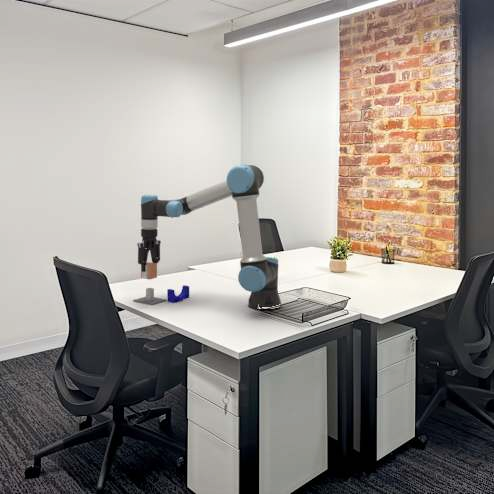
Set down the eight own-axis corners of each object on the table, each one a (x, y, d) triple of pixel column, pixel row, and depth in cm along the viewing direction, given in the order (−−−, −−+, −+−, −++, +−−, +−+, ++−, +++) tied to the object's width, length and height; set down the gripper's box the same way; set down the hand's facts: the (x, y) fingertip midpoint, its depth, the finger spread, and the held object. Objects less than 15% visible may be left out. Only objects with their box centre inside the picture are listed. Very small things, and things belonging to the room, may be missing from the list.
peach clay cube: (156, 277, 248) (157, 263, 246) (149, 279, 243) (149, 265, 242) (148, 276, 250) (148, 262, 249) (140, 277, 246) (141, 263, 245)
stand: (166, 300, 249) (166, 288, 248) (152, 305, 241) (152, 292, 240) (147, 297, 255) (147, 285, 255) (133, 301, 247) (132, 288, 246)
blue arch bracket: (174, 303, 245) (174, 290, 245) (167, 301, 248) (167, 289, 247) (191, 298, 255) (191, 286, 254) (184, 297, 258) (184, 285, 257)
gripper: (156, 226, 253) (156, 273, 256) (129, 229, 237) (129, 279, 241) (168, 227, 249) (168, 275, 252) (141, 230, 233) (141, 281, 237)
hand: (149, 277), depth 247 cm, fingers closed on peach clay cube, 5 cm apart
